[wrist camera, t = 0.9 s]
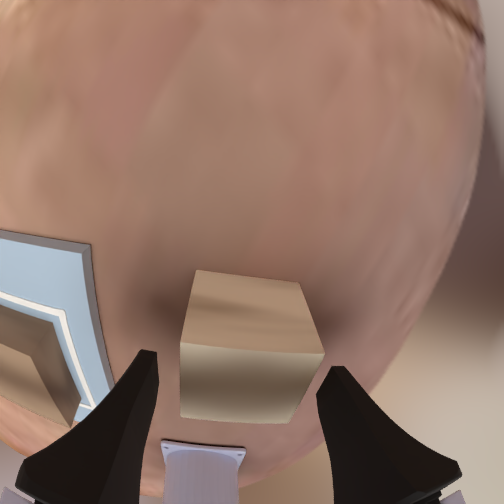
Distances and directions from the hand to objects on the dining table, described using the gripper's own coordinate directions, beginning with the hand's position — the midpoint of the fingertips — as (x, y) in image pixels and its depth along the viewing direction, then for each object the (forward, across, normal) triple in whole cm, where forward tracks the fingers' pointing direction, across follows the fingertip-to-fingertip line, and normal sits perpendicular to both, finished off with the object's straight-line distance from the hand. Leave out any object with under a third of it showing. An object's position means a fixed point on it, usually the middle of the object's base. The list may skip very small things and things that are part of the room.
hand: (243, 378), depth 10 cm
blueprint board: (+4, +15, +6) cm, 17 cm away
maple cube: (+4, 0, 0) cm, 4 cm away
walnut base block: (+3, +15, +6) cm, 16 cm away
